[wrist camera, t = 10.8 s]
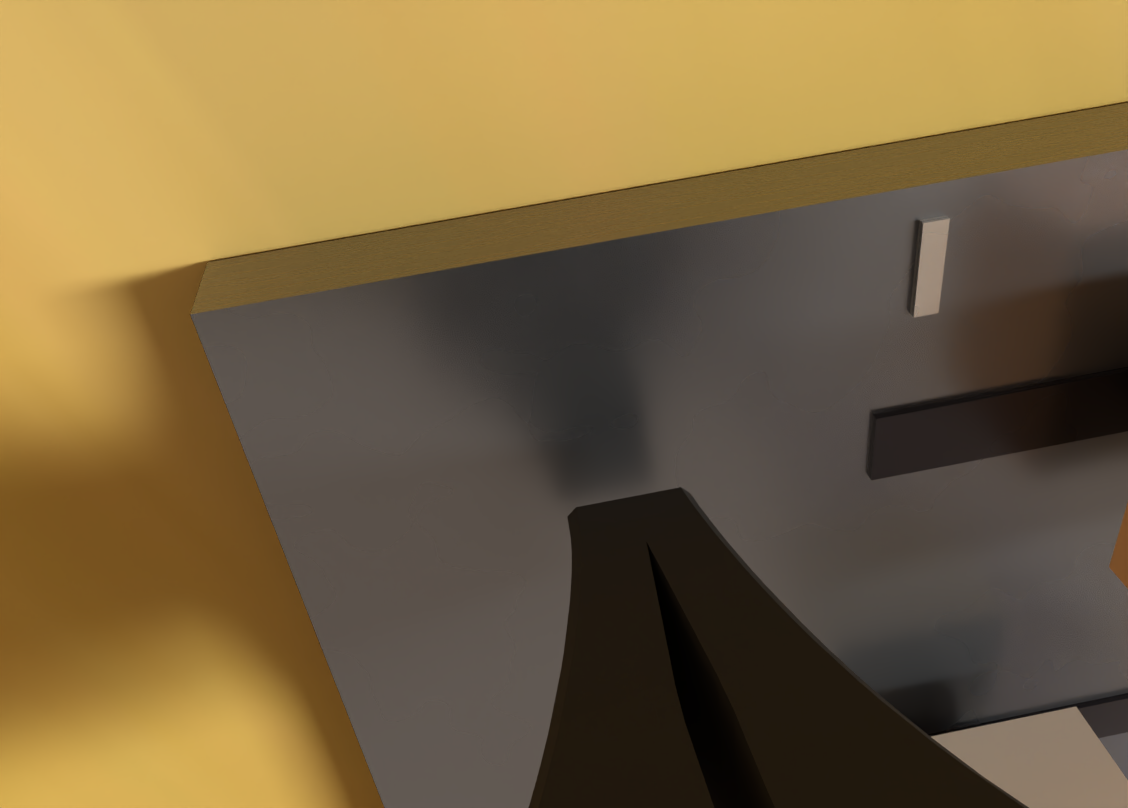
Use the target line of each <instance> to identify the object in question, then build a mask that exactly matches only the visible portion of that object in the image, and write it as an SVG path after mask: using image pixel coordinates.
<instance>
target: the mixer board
mask: <svg viewBox="0 0 1128 808" xmlns="http://www.w3.org/2000/svg"><path fill="white" fill-rule="evenodd" d="M190 315H191V318H192V320H193V323H194V325H195V328H196V330H197V333H198V335H199V338H200V341H201V343H202V346H203V348H204V351H205V353H206V356H207V358H208V361H209V363H210V366H211V368H212V371H213V374H214V376H215V379H216V381H217V384H218V386H219V389H220V391H221V394H222V396H223V399H224V401H225V404H226V407H227V409H228V412H229V414H230V417H231V419H232V422H233V424H234V427H235V429H236V432H237V434H238V437H239V440H240V442H241V445H242V447H243V450H244V452H245V455H246V457H247V460H248V462H249V465H250V467H251V470H252V473H253V475H254V478H255V480H256V483H257V485H258V488H259V490H260V493H261V495H262V498H263V500H264V503H265V506H266V508H267V511H268V513H269V516H270V518H271V521H272V523H273V526H274V528H275V531H276V533H277V536H278V539H279V541H280V544H281V546H282V549H283V551H284V554H285V556H286V559H287V561H288V564H289V566H290V569H291V572H292V574H293V577H294V579H295V582H296V584H297V587H298V589H299V592H300V594H301V597H302V599H303V602H304V605H305V607H306V610H307V612H308V615H309V617H310V620H311V622H312V625H313V627H314V630H315V632H316V635H317V638H318V640H319V643H320V645H321V648H322V650H323V653H324V655H325V658H326V660H327V663H328V665H329V668H330V671H331V673H332V676H333V678H334V681H335V683H336V686H337V688H338V691H339V693H340V696H341V698H342V701H343V704H344V706H345V709H346V711H347V714H348V716H349V719H350V721H351V724H352V726H353V729H354V731H355V734H356V737H357V739H358V742H359V744H360V747H361V749H362V752H363V754H364V757H365V759H366V762H367V764H368V767H369V770H370V772H371V775H372V777H373V780H374V782H375V785H376V787H377V790H378V792H379V795H380V797H381V800H382V803H383V805H384V808H529V804H530V801H531V797H532V794H533V790H534V787H535V783H536V780H537V776H538V772H539V768H540V764H541V761H542V757H543V753H544V748H545V744H546V740H547V736H548V732H549V727H550V722H551V717H552V712H553V707H554V702H555V697H556V692H557V687H558V682H559V677H560V672H561V666H562V660H563V654H564V646H565V638H566V630H567V622H568V613H569V605H570V592H571V575H572V549H571V537H570V531H569V524H568V518H567V516H568V515H569V514H570V513H571V512H572V511H573V510H574V509H575V508H576V507H580V506H585V505H590V504H595V503H601V502H606V501H611V500H616V499H622V498H627V497H632V496H637V495H642V494H648V493H653V492H658V491H663V490H669V489H674V488H679V487H681V488H683V489H685V490H686V491H688V492H689V493H691V495H692V496H693V497H694V499H695V500H696V502H697V503H698V505H699V506H700V507H701V509H702V510H703V511H704V513H705V514H706V515H707V517H708V518H709V519H710V521H711V522H712V523H713V524H714V526H715V527H716V528H717V529H718V531H719V532H720V533H721V534H722V536H723V537H724V538H725V539H726V540H727V542H728V543H729V544H730V545H731V546H732V548H733V549H734V550H735V551H736V552H737V553H738V555H739V556H740V557H741V558H742V559H743V560H744V562H745V563H746V564H747V565H748V566H749V567H750V568H751V570H752V571H753V572H754V573H755V574H756V575H757V576H758V577H759V578H760V580H761V581H762V582H763V583H764V584H765V585H766V586H767V587H768V588H769V589H770V590H771V591H772V592H773V593H774V594H775V595H776V596H777V597H778V599H779V600H780V601H781V602H782V603H783V604H784V605H785V606H786V607H787V608H788V609H789V610H790V611H791V612H792V613H793V614H794V615H795V616H796V617H797V618H798V619H799V620H800V622H801V623H803V624H804V625H805V626H806V627H807V628H808V629H809V630H810V631H811V632H812V633H813V634H814V635H815V636H816V637H817V638H818V639H819V640H820V641H821V642H822V643H823V644H824V645H825V646H826V647H827V648H828V649H829V650H830V651H831V652H833V653H834V654H835V655H836V656H837V657H838V658H839V659H840V660H841V661H842V662H843V663H844V664H845V665H847V666H848V667H849V668H850V669H851V670H852V671H853V672H854V673H855V674H856V675H857V676H859V677H860V678H861V679H862V680H863V681H864V682H865V683H866V684H868V685H869V686H870V687H871V688H872V689H873V690H874V691H876V692H877V693H878V694H879V695H880V696H881V697H883V698H884V699H885V700H886V701H887V702H888V703H890V704H891V705H892V706H893V707H894V708H896V709H897V710H898V711H899V712H900V713H902V714H903V715H904V716H905V717H907V718H908V719H909V720H910V721H912V722H913V723H914V724H915V725H917V726H918V727H919V728H920V729H922V730H923V731H924V732H925V733H927V734H928V735H929V736H930V737H931V736H936V735H941V734H946V733H950V732H955V731H960V730H965V729H970V728H975V727H979V726H984V725H989V724H994V723H999V722H1004V721H1008V720H1013V719H1018V718H1023V717H1028V716H1033V715H1037V714H1042V713H1047V712H1052V711H1057V710H1062V709H1066V708H1071V707H1077V708H1078V710H1079V711H1080V713H1081V714H1082V716H1083V717H1084V718H1085V720H1086V721H1087V723H1088V724H1089V726H1090V727H1091V728H1092V730H1093V731H1094V733H1095V734H1096V736H1097V737H1098V738H1099V740H1100V741H1101V743H1102V744H1103V746H1104V747H1105V748H1106V750H1107V751H1108V753H1109V754H1110V756H1111V757H1112V758H1113V760H1114V761H1115V763H1116V764H1117V766H1118V767H1119V768H1120V770H1121V771H1122V773H1123V774H1124V776H1125V777H1126V778H1127V780H1128V589H1127V587H1126V586H1125V585H1124V584H1123V583H1122V582H1121V580H1120V579H1119V578H1118V577H1117V576H1116V575H1115V573H1114V572H1113V571H1112V570H1111V569H1110V567H1109V565H1110V562H1111V558H1112V555H1113V551H1114V548H1115V544H1116V541H1117V537H1118V534H1119V530H1120V527H1121V524H1122V520H1123V517H1124V513H1125V510H1126V506H1127V503H1128V103H1123V104H1117V105H1112V106H1106V107H1100V108H1094V109H1089V110H1083V111H1077V112H1071V113H1066V114H1060V115H1054V116H1048V117H1042V118H1037V119H1031V120H1025V121H1019V122H1014V123H1008V124H1002V125H996V126H991V127H985V128H979V129H973V130H967V131H962V132H956V133H950V134H944V135H939V136H933V137H927V138H921V139H916V140H910V141H904V142H898V143H893V144H887V145H881V146H875V147H870V148H864V149H858V150H852V151H846V152H841V153H835V154H829V155H823V156H818V157H812V158H806V159H800V160H795V161H789V162H783V163H777V164H772V165H766V166H760V167H754V168H748V169H743V170H737V171H731V172H725V173H720V174H714V175H708V176H702V177H697V178H691V179H685V180H679V181H674V182H668V183H662V184H656V185H650V186H645V187H639V188H633V189H627V190H622V191H616V192H610V193H604V194H599V195H593V196H587V197H581V198H576V199H570V200H564V201H558V202H552V203H547V204H541V205H535V206H529V207H524V208H518V209H512V210H506V211H501V212H495V213H489V214H483V215H478V216H472V217H466V218H460V219H454V220H449V221H443V222H437V223H431V224H426V225H420V226H414V227H408V228H403V229H397V230H391V231H385V232H380V233H374V234H368V235H362V236H356V237H351V238H345V239H339V240H333V241H328V242H322V243H316V244H310V245H305V246H299V247H293V248H287V249H282V250H276V251H270V252H264V253H258V254H253V255H247V256H241V257H235V258H230V259H224V260H218V261H212V262H207V265H206V268H205V271H204V274H203V277H202V280H201V283H200V286H199V289H198V292H197V295H196V298H195V301H194V304H193V308H192V311H191V314H190Z"/></svg>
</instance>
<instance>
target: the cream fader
mask: <svg viewBox="0 0 1128 808" xmlns="http://www.w3.org/2000/svg"><path fill="white" fill-rule="evenodd" d="M931 738H933V739H934V740H935V741H937V742H938V743H939V744H941V745H942V746H943V747H945V748H946V749H947V750H949V751H950V752H951V753H953V754H954V755H955V756H957V757H958V758H959V759H961V760H962V761H963V762H965V763H966V764H967V765H968V766H970V767H971V768H972V769H974V770H975V771H976V772H978V773H979V774H981V775H982V776H983V777H985V778H986V779H988V780H989V781H990V782H992V783H993V784H995V785H996V786H998V787H999V788H1001V789H1002V790H1004V791H1005V792H1007V793H1008V794H1010V795H1011V796H1013V797H1014V798H1016V799H1017V800H1019V801H1020V802H1021V803H1023V804H1024V805H1026V806H1027V807H1029V808H1128V780H1127V778H1126V777H1125V776H1124V774H1123V773H1122V771H1121V770H1120V768H1119V767H1118V766H1117V764H1116V763H1115V761H1114V760H1113V758H1112V757H1111V756H1110V754H1109V753H1108V751H1107V750H1106V748H1105V747H1104V746H1103V744H1102V743H1101V741H1100V740H1099V738H1098V737H1097V736H1096V734H1095V733H1094V731H1093V730H1092V728H1091V727H1090V726H1089V724H1088V723H1087V721H1086V720H1085V718H1084V717H1083V716H1082V714H1081V713H1080V711H1079V710H1078V708H1077V707H1071V708H1066V709H1062V710H1057V711H1052V712H1047V713H1042V714H1037V715H1033V716H1028V717H1023V718H1018V719H1013V720H1008V721H1004V722H999V723H994V724H989V725H984V726H979V727H975V728H970V729H965V730H960V731H955V732H950V733H946V734H941V735H936V736H931Z"/></svg>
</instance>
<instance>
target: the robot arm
mask: <svg viewBox="0 0 1128 808" xmlns="http://www.w3.org/2000/svg"><path fill="white" fill-rule="evenodd" d="M567 518H568V524H569V531H570V537H571V549H572V575H571V592H570V605H569V613H568V622H567V630H566V638H565V646H564V654H563V660H562V666H561V672H560V677H559V682H558V687H557V692H556V697H555V702H554V707H553V712H552V717H551V722H550V727H549V732H548V736H547V740H546V744H545V748H544V753H543V757H542V761H541V764H540V768H539V772H538V776H537V780H536V783H535V787H534V790H533V794H532V797H531V801H530V804H529V808H1029V807H1027V806H1026V805H1024V804H1023V803H1021V802H1020V801H1019V800H1017V799H1016V798H1014V797H1013V796H1011V795H1010V794H1008V793H1007V792H1005V791H1004V790H1002V789H1001V788H999V787H998V786H996V785H995V784H993V783H992V782H990V781H989V780H988V779H986V778H985V777H983V776H982V775H981V774H979V773H978V772H976V771H975V770H974V769H972V768H971V767H970V766H968V765H967V764H966V763H965V762H963V761H962V760H961V759H959V758H958V757H957V756H955V755H954V754H953V753H951V752H950V751H949V750H947V749H946V748H945V747H943V746H942V745H941V744H939V743H938V742H937V741H935V740H934V739H933V738H931V737H930V736H929V735H928V734H927V733H925V732H924V731H923V730H922V729H920V728H919V727H918V726H917V725H915V724H914V723H913V722H912V721H910V720H909V719H908V718H907V717H905V716H904V715H903V714H902V713H900V712H899V711H898V710H897V709H896V708H894V707H893V706H892V705H891V704H890V703H888V702H887V701H886V700H885V699H884V698H883V697H881V696H880V695H879V694H878V693H877V692H876V691H874V690H873V689H872V688H871V687H870V686H869V685H868V684H866V683H865V682H864V681H863V680H862V679H861V678H860V677H859V676H857V675H856V674H855V673H854V672H853V671H852V670H851V669H850V668H849V667H848V666H847V665H845V664H844V663H843V662H842V661H841V660H840V659H839V658H838V657H837V656H836V655H835V654H834V653H833V652H831V651H830V650H829V649H828V648H827V647H826V646H825V645H824V644H823V643H822V642H821V641H820V640H819V639H818V638H817V637H816V636H815V635H814V634H813V633H812V632H811V631H810V630H809V629H808V628H807V627H806V626H805V625H804V624H803V623H801V622H800V620H799V619H798V618H797V617H796V616H795V615H794V614H793V613H792V612H791V611H790V610H789V609H788V608H787V607H786V606H785V605H784V604H783V603H782V602H781V601H780V600H779V599H778V597H777V596H776V595H775V594H774V593H773V592H772V591H771V590H770V589H769V588H768V587H767V586H766V585H765V584H764V583H763V582H762V581H761V580H760V578H759V577H758V576H757V575H756V574H755V573H754V572H753V571H752V570H751V568H750V567H749V566H748V565H747V564H746V563H745V562H744V560H743V559H742V558H741V557H740V556H739V555H738V553H737V552H736V551H735V550H734V549H733V548H732V546H731V545H730V544H729V543H728V542H727V540H726V539H725V538H724V537H723V536H722V534H721V533H720V532H719V531H718V529H717V528H716V527H715V526H714V524H713V523H712V522H711V521H710V519H709V518H708V517H707V515H706V514H705V513H704V511H703V510H702V509H701V507H700V506H699V505H698V503H697V502H696V500H695V499H694V497H693V496H692V495H691V493H689V492H688V491H686V490H685V489H683V488H681V487H679V488H674V489H669V490H663V491H658V492H653V493H648V494H642V495H637V496H632V497H627V498H622V499H616V500H611V501H606V502H601V503H595V504H590V505H585V506H580V507H576V508H575V509H574V510H573V511H572V512H571V513H570V514H569V515H568V516H567Z"/></svg>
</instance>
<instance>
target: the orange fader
mask: <svg viewBox="0 0 1128 808" xmlns="http://www.w3.org/2000/svg"><path fill="white" fill-rule="evenodd" d="M1109 567H1110V569H1111V570H1112V571H1113V572H1114V573H1115V575H1116V576H1117V577H1118V578H1119V579H1120V580H1121V582H1122V583H1123V584H1124V585H1125V586H1126V587H1127V589H1128V503H1127V506H1126V510H1125V513H1124V517H1123V520H1122V524H1121V527H1120V530H1119V534H1118V537H1117V541H1116V544H1115V548H1114V551H1113V555H1112V558H1111V562H1110V565H1109Z"/></svg>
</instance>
